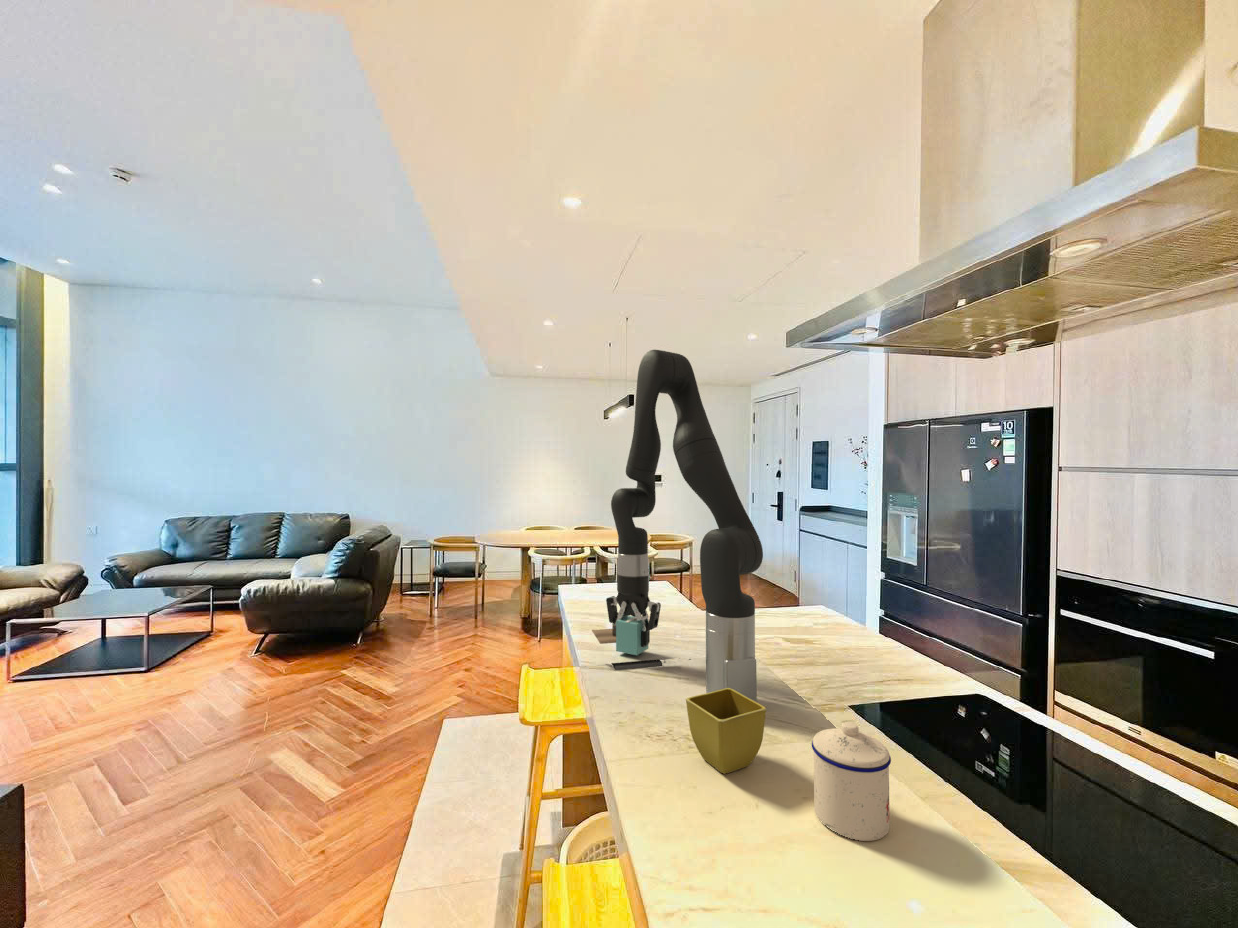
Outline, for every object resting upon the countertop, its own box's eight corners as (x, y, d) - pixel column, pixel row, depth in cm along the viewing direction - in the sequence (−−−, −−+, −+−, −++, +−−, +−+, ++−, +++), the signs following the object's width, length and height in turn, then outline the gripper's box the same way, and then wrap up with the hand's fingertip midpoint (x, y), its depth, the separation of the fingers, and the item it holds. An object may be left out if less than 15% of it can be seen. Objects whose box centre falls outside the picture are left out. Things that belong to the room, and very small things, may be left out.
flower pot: (720, 786, 71) (720, 720, 72) (684, 756, 79) (684, 697, 80) (768, 770, 76) (767, 707, 76) (729, 743, 83) (729, 686, 84)
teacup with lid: (908, 842, 61) (907, 741, 61) (834, 846, 60) (833, 744, 60) (853, 782, 72) (852, 698, 73) (791, 785, 72) (790, 700, 72)
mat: (662, 666, 118) (662, 662, 118) (615, 670, 115) (615, 666, 115) (648, 650, 128) (648, 647, 128) (605, 653, 126) (605, 650, 126)
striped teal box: (636, 655, 118) (636, 623, 118) (616, 651, 121) (616, 620, 121) (648, 648, 122) (648, 617, 123) (628, 644, 125) (628, 614, 126)
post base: (646, 646, 132) (646, 618, 132) (600, 649, 129) (600, 621, 129) (633, 632, 143) (634, 607, 144) (591, 635, 141) (591, 609, 141)
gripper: (598, 571, 123) (598, 643, 122) (652, 577, 115) (652, 654, 115) (615, 567, 129) (615, 635, 129) (667, 572, 122) (667, 644, 121)
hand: (632, 643), depth 122 cm, fingers closed on striped teal box, 5 cm apart
